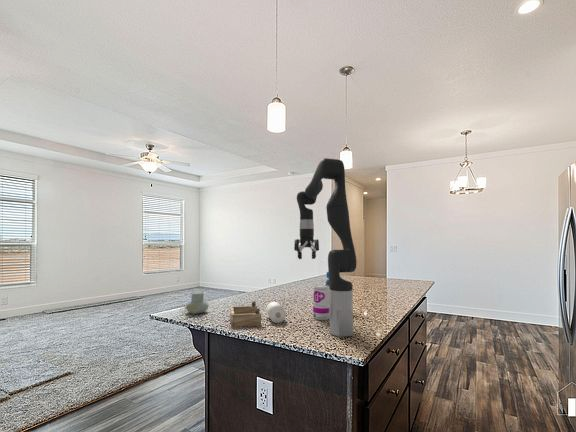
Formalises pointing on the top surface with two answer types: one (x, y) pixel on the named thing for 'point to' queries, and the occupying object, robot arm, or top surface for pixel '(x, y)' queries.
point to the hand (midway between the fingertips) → (306, 258)
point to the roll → (276, 312)
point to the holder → (245, 315)
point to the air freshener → (197, 304)
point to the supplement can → (321, 302)
